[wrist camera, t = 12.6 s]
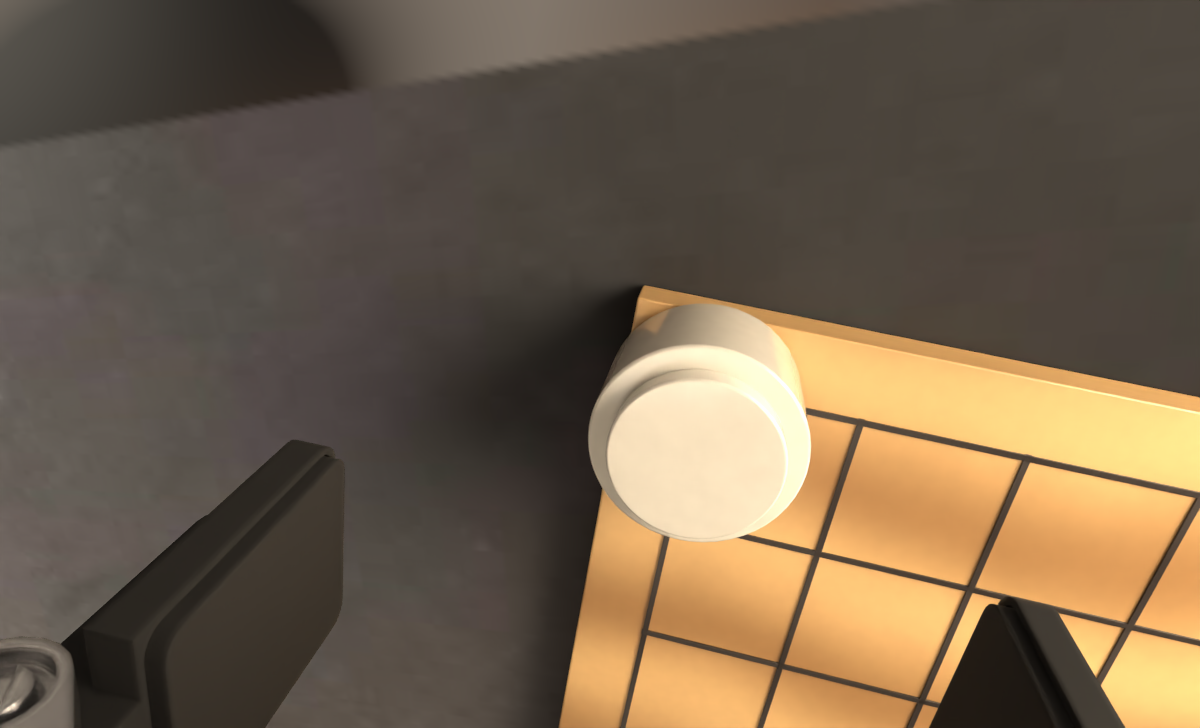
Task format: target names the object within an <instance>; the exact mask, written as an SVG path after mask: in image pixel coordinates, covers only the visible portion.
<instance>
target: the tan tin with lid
mask: <svg viewBox="0 0 1200 728" xmlns="http://www.w3.org/2000/svg"><path fill="white" fill-rule="evenodd" d="M588 449H589V454H590V459H591V463H592V466H593V469H594V472H595V475H596V477H597V479H598V481H599V483H600V485H601V486H602V488H603V489H604V491H605V492H606V494H607V495H608V497H609V498H610V499H611V500H612V501H613V503H614V504H615V505H616V506H617V507H618V508H619V509H620V510H621V511H622V512H623V513H625V514H626V515H627V516H628V517H630V518H631V519H632V520H634V521H635V522H637V523H638V524H640V525H642V526H644V527H645V528H647V529H649V530H651V531H654V532H656V533H658V534H661V535H664V536H667V537H670V538H674V539H678V540H684V541H691V542H718V541H724V540H730V539H734V538H738V537H741V536H744V535H747V534H749V533H752V532H754V531H756V530H758V529H760V528H762V527H763V526H765V525H767V524H768V523H770V522H771V521H772V520H774V519H775V518H776V517H778V516H779V515H780V514H781V513H782V512H783V511H784V510H785V509H786V508H787V507H788V506H789V505H790V503H791V502H792V501H793V500H794V498H795V497H796V496H797V494H798V492H799V490H800V489H801V487H802V485H803V483H804V480H805V477H806V475H807V472H808V468H809V463H810V457H811V437H810V430H809V424H808V419H807V413H806V408H805V402H804V397H803V391H802V386H801V380H800V376H799V372H798V368H797V366H796V363H795V361H794V358H793V356H792V355H791V353H790V351H789V349H788V347H787V346H786V345H785V344H784V342H783V341H782V340H781V338H780V337H779V336H778V335H777V334H776V333H775V332H774V331H773V330H772V329H771V328H770V327H768V326H767V325H766V324H764V323H763V322H762V321H760V320H759V319H757V318H755V317H753V316H751V315H750V314H748V313H745V312H743V311H740V310H738V309H735V308H731V307H727V306H723V305H716V304H689V305H682V306H678V307H674V308H671V309H668V310H665V311H663V312H660V313H658V314H656V315H655V316H653V317H651V318H649V319H648V320H646V321H645V322H643V323H642V324H641V325H639V326H638V327H637V328H636V329H635V330H634V331H633V332H632V333H631V334H630V335H629V336H628V338H627V339H626V340H625V341H624V343H623V344H622V346H621V347H620V349H619V351H618V353H617V354H616V357H615V359H614V361H613V364H612V366H611V368H610V371H609V373H608V375H607V378H606V380H605V382H604V385H603V387H602V389H601V391H600V394H599V396H598V398H597V401H596V403H595V406H594V408H593V411H592V414H591V418H590V422H589V430H588Z"/></svg>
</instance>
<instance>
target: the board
mask: <svg viewBox="0 0 1200 728" xmlns="http://www.w3.org/2000/svg"><path fill="white" fill-rule="evenodd" d="M689 304H716V305H723V306H727V307H731V308H735V309H738V310H740V311H743V312H745V313H748V314H750V315H751V316H753V317H755V318H757V319H759V320H760V321H762V322H763V323H764V324H766V325H767V326H768V327H770V328H771V329H772V330H773V331H774V332H775V333H776V334H777V335H778V336H779V337H780V338H781V340H782V341H783V342H784V344H785V345H786V346H787V347H788V349H789V351H790V353H791V355H792V356H793V358H794V361H795V363H796V366H797V368H798V372H799V376H800V380H801V386H802V391H803V397H804V402H805V408H806V413H807V419H808V424H809V430H810V437H811V457H810V463H809V468H808V472H807V475H806V477H805V480H804V483H803V485H802V487H801V489H800V490H799V492H798V494H797V496H796V497H795V498H794V500H793V501H792V502H791V503H790V505H789V506H788V507H787V508H786V509H785V510H784V511H783V512H782V513H781V514H780V515H779V516H778V517H776V518H775V519H774V520H772V521H771V522H770V523H768V524H767V525H765V526H763V527H762V528H760V529H758V530H756V531H754V532H752V533H749V534H747V535H744V536H741V537H738V538H734V539H730V540H724V541H718V542H691V541H684V540H678V539H674V538H670V537H667V536H664V535H661V534H658V533H656V532H654V531H651V530H649V529H647V528H645V527H644V526H642V525H640V524H638V523H637V522H635V521H634V520H632V519H631V518H630V517H628V516H627V515H626V514H625V513H623V512H622V511H621V510H620V509H619V508H618V507H617V506H616V505H615V504H614V503H613V501H612V500H611V499H610V498H609V497H608V495H607V494H606V492H605V491H604V489H602V494H601V499H600V505H599V510H598V516H597V521H596V527H595V532H594V537H593V543H592V548H591V554H590V559H589V564H588V570H587V575H586V581H585V586H584V592H583V597H582V602H581V608H580V613H579V619H578V624H577V630H576V635H575V640H574V646H573V651H572V657H571V662H570V668H569V673H568V678H567V684H566V689H565V695H564V700H563V706H562V711H561V716H560V722H559V727H558V728H929V726H930V724H931V722H932V720H933V718H934V716H935V714H936V711H937V709H938V707H939V705H940V703H941V701H942V699H943V696H944V694H945V692H946V690H947V688H948V686H949V683H950V681H951V679H952V677H953V675H954V673H955V671H956V668H957V666H958V664H959V662H960V660H961V658H962V655H963V653H964V651H965V649H966V647H967V645H968V643H969V640H970V638H971V636H972V634H973V632H974V630H975V628H976V625H977V623H978V621H979V619H980V617H981V615H982V612H983V611H984V609H985V607H986V606H987V605H989V604H997V605H998V603H999V601H1000V600H1001V599H1003V598H1004V597H1008V596H1010V597H1014V598H1019V599H1023V600H1028V601H1032V602H1037V603H1042V604H1046V605H1050V606H1052V607H1054V608H1055V610H1056V611H1057V612H1058V613H1059V615H1060V617H1061V618H1062V620H1063V622H1064V624H1065V625H1066V627H1067V629H1068V630H1069V632H1070V634H1071V636H1072V637H1073V639H1074V641H1075V642H1076V644H1077V646H1078V648H1079V649H1080V651H1081V653H1082V654H1083V656H1084V658H1085V659H1086V661H1087V663H1088V665H1089V666H1090V668H1091V670H1092V671H1093V673H1094V675H1095V677H1096V678H1097V680H1098V682H1099V683H1100V685H1101V687H1102V688H1103V690H1104V692H1105V694H1106V695H1107V697H1108V699H1109V700H1110V702H1111V704H1112V706H1113V707H1114V709H1115V711H1116V712H1117V714H1118V716H1119V718H1120V719H1121V721H1122V723H1123V724H1124V726H1125V728H1200V398H1199V397H1194V396H1189V395H1184V394H1179V393H1175V392H1170V391H1165V390H1160V389H1155V388H1150V387H1145V386H1140V385H1135V384H1130V383H1125V382H1120V381H1115V380H1110V379H1105V378H1100V377H1095V376H1091V375H1086V374H1081V373H1076V372H1071V371H1066V370H1061V369H1056V368H1051V367H1046V366H1041V365H1036V364H1031V363H1026V362H1021V361H1016V360H1011V359H1007V358H1002V357H997V356H992V355H987V354H982V353H977V352H972V351H967V350H962V349H957V348H952V347H947V346H942V345H937V344H932V343H927V342H923V341H918V340H913V339H908V338H903V337H898V336H893V335H888V334H883V333H878V332H873V331H868V330H863V329H858V328H853V327H848V326H843V325H839V324H834V323H829V322H824V321H819V320H814V319H809V318H804V317H799V316H794V315H789V314H784V313H779V312H774V311H769V310H764V309H759V308H755V307H750V306H745V305H740V304H735V303H730V302H725V301H720V300H715V299H710V298H705V297H700V296H695V295H690V294H685V293H680V292H675V291H671V290H666V289H661V288H656V287H651V286H646V285H645V286H643V288H642V290H641V292H640V294H639V297H638V299H637V304H636V310H635V315H634V320H633V326H632V331H631V333H632V332H633V331H634V330H635V329H636V328H637V327H638V326H639V325H641V324H642V323H643V322H645V321H646V320H648V319H649V318H651V317H653V316H655V315H656V314H658V313H660V312H663V311H665V310H668V309H671V308H674V307H678V306H682V305H689Z"/></svg>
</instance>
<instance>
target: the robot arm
mask: <svg viewBox="0 0 1200 728" xmlns="http://www.w3.org/2000/svg"><path fill="white" fill-rule="evenodd" d="M344 474H345V469H344V463H343V461H342V460H340V459H335V454H334V451H333V449H332V448H330V447H327V446H322V445H318V444H313V443H308V442H304V441H299V440H291V441H290V442H288V443H287V444H286V445H285V446H283V447H282V448H281V449H280V450H279V451H278V452H277V453H276V454H275V455H274V456H272V457H271V458H270V459H269V460H268V461H267V462H266V463H265V464H264V465H262V466H261V467H260V468H259V469H258V470H257V471H256V472H255V473H254V474H253V475H251V476H250V477H249V478H248V479H247V480H246V481H245V482H244V483H243V484H241V485H240V486H239V487H238V488H237V489H236V490H235V491H234V492H233V493H232V494H230V495H229V496H228V497H227V498H226V499H225V500H224V501H223V502H222V503H221V504H219V505H218V506H217V507H216V508H215V509H214V510H213V511H212V512H211V513H209V514H208V515H206V516H204V517H203V518H201V519H200V520H198V521H197V522H196V523H195V524H193V525H192V526H191V527H190V528H189V529H188V530H187V531H186V532H185V533H183V534H182V535H181V536H180V537H179V538H178V539H177V540H176V541H175V542H173V543H172V544H171V545H170V546H169V547H168V548H167V549H166V550H165V551H163V552H162V553H161V554H160V555H159V556H158V557H157V558H156V559H155V560H153V561H152V562H151V563H150V564H149V565H148V566H147V567H146V568H145V569H143V570H142V571H141V572H140V573H139V574H138V575H137V576H136V577H135V578H133V579H132V580H131V581H130V582H129V583H128V584H127V585H126V586H125V587H123V588H122V589H121V590H120V591H119V592H118V593H117V594H116V595H115V596H113V597H112V598H111V599H110V600H109V601H108V602H107V603H106V604H105V605H103V606H102V607H101V608H100V609H99V610H98V611H97V612H96V613H95V614H93V615H92V616H91V617H90V618H89V619H88V620H87V621H86V622H85V623H83V624H82V625H81V626H80V627H79V628H78V629H77V630H76V631H75V632H73V633H72V634H71V635H70V636H69V637H68V638H67V639H66V640H65V641H63V642H62V643H61V644H60V643H57V642H54V641H51V640H48V639H45V638H39V637H15V638H8V639H1V640H0V728H265V727H266V725H267V724H268V722H269V721H270V719H271V718H272V717H273V715H274V714H275V712H276V711H277V709H278V708H279V706H280V705H281V703H282V702H283V700H284V699H285V697H286V696H287V694H288V693H289V691H290V690H291V688H292V687H293V685H294V684H295V683H296V681H297V680H298V678H299V677H300V675H301V674H302V672H303V671H304V669H305V668H306V666H307V665H308V663H309V662H310V660H311V659H312V657H313V656H314V654H315V653H316V651H317V650H318V648H319V647H320V646H321V644H322V643H323V641H324V640H325V638H326V637H327V635H328V634H329V632H330V631H331V629H332V628H333V626H334V624H335V623H336V621H337V618H338V616H339V613H340V610H341V606H342V592H343V533H344ZM929 728H1125V726H1124V724H1123V723H1122V721H1121V719H1120V718H1119V716H1118V714H1117V712H1116V711H1115V709H1114V707H1113V706H1112V704H1111V702H1110V700H1109V699H1108V697H1107V695H1106V694H1105V692H1104V690H1103V688H1102V687H1101V685H1100V683H1099V682H1098V680H1097V678H1096V677H1095V675H1094V673H1093V671H1092V670H1091V668H1090V666H1089V665H1088V663H1087V661H1086V659H1085V658H1084V656H1083V654H1082V653H1081V651H1080V649H1079V648H1078V646H1077V644H1076V642H1075V641H1074V639H1073V637H1072V636H1071V634H1070V632H1069V630H1068V629H1067V627H1066V625H1065V624H1064V622H1063V620H1062V618H1061V617H1060V615H1059V613H1058V612H1057V611H1056V610H1055V608H1054V607H1052V606H1050V605H1046V604H1042V603H1037V602H1032V601H1028V600H1023V599H1019V598H1014V597H1010V596H1008V597H1004V598H1003V599H1001V600H1000V601H999V603H998V605H997V604H989V605H987V606H986V607H985V609H984V611H983V612H982V615H981V617H980V619H979V621H978V623H977V625H976V628H975V630H974V632H973V634H972V636H971V638H970V640H969V643H968V645H967V647H966V649H965V651H964V653H963V655H962V658H961V660H960V662H959V664H958V666H957V668H956V671H955V673H954V675H953V677H952V679H951V681H950V683H949V686H948V688H947V690H946V692H945V694H944V696H943V699H942V701H941V703H940V705H939V707H938V709H937V711H936V714H935V716H934V718H933V720H932V722H931V724H930V726H929Z"/></svg>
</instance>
